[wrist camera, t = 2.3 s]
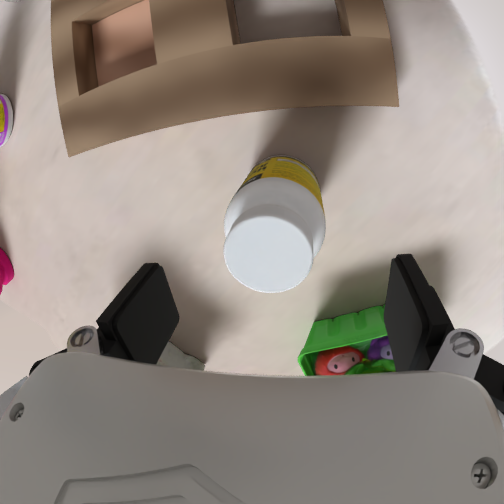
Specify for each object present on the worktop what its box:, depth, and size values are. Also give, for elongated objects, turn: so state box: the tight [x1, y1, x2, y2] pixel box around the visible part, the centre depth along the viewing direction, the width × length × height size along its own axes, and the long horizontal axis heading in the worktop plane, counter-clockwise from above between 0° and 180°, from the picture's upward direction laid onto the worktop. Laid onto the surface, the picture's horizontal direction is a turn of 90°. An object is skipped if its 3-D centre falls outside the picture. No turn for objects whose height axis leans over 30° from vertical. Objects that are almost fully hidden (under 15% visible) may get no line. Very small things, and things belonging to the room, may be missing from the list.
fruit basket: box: [298, 305, 396, 376], centre depth 22 cm, size 11×9×11 cm
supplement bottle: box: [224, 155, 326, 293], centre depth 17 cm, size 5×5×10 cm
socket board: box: [51, 0, 399, 157], centre depth 14 cm, size 16×24×3 cm, turn 98°
